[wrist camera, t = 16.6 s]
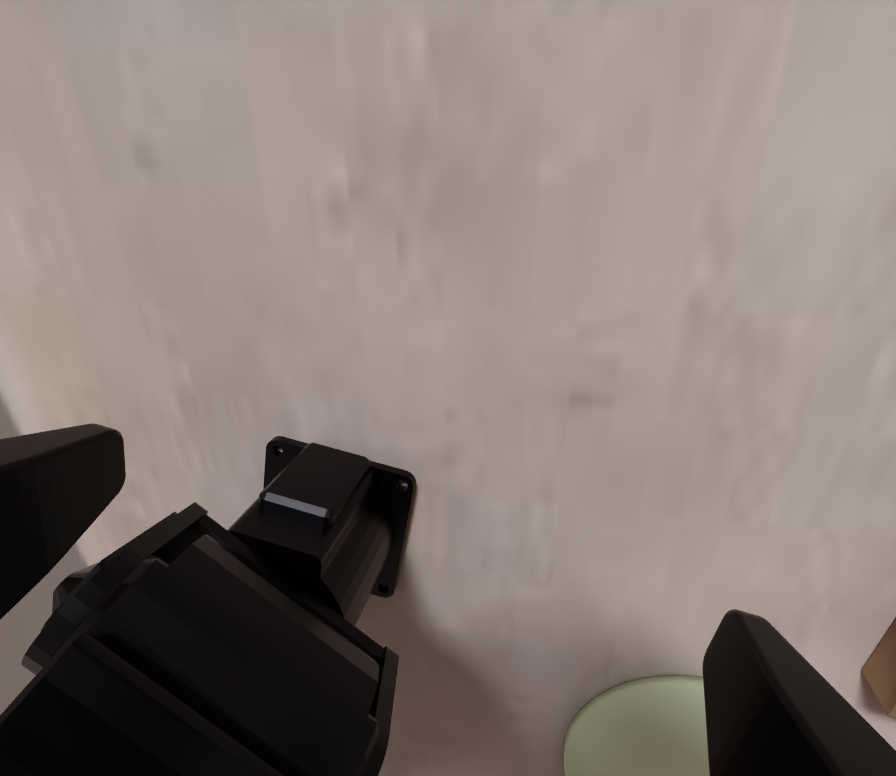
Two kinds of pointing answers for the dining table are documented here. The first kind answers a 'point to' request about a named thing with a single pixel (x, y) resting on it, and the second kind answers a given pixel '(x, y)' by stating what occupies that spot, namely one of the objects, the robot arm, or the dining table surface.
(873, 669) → the frame
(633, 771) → the felt coaster
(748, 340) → the dining table surface
